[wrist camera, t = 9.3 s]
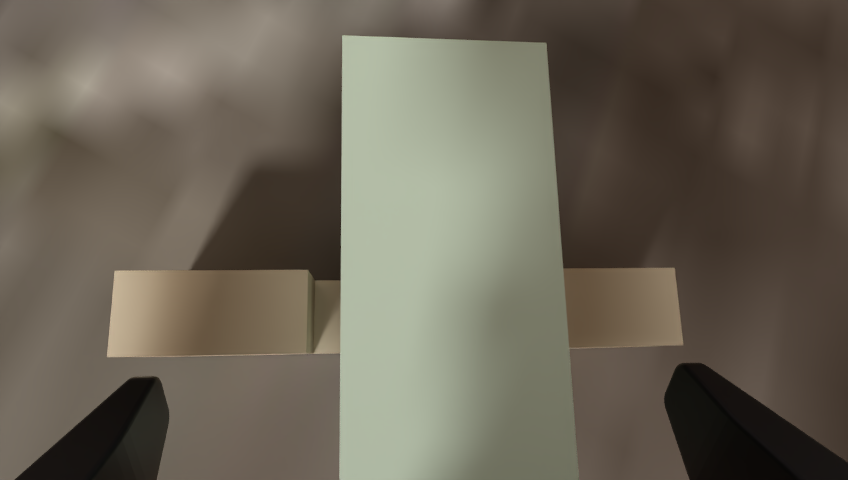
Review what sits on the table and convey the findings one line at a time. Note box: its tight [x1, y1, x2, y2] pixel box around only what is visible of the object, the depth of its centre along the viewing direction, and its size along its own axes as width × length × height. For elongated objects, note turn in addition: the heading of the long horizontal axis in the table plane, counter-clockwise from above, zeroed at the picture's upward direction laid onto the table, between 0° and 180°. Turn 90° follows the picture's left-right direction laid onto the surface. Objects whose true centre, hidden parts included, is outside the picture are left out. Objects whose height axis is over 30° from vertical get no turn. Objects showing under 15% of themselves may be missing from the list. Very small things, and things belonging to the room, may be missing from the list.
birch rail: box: [107, 268, 683, 357], centre depth 16 cm, size 14×2×4 cm, turn 91°
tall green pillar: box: [340, 35, 579, 480], centre depth 13 cm, size 7×3×11 cm, turn 1°
